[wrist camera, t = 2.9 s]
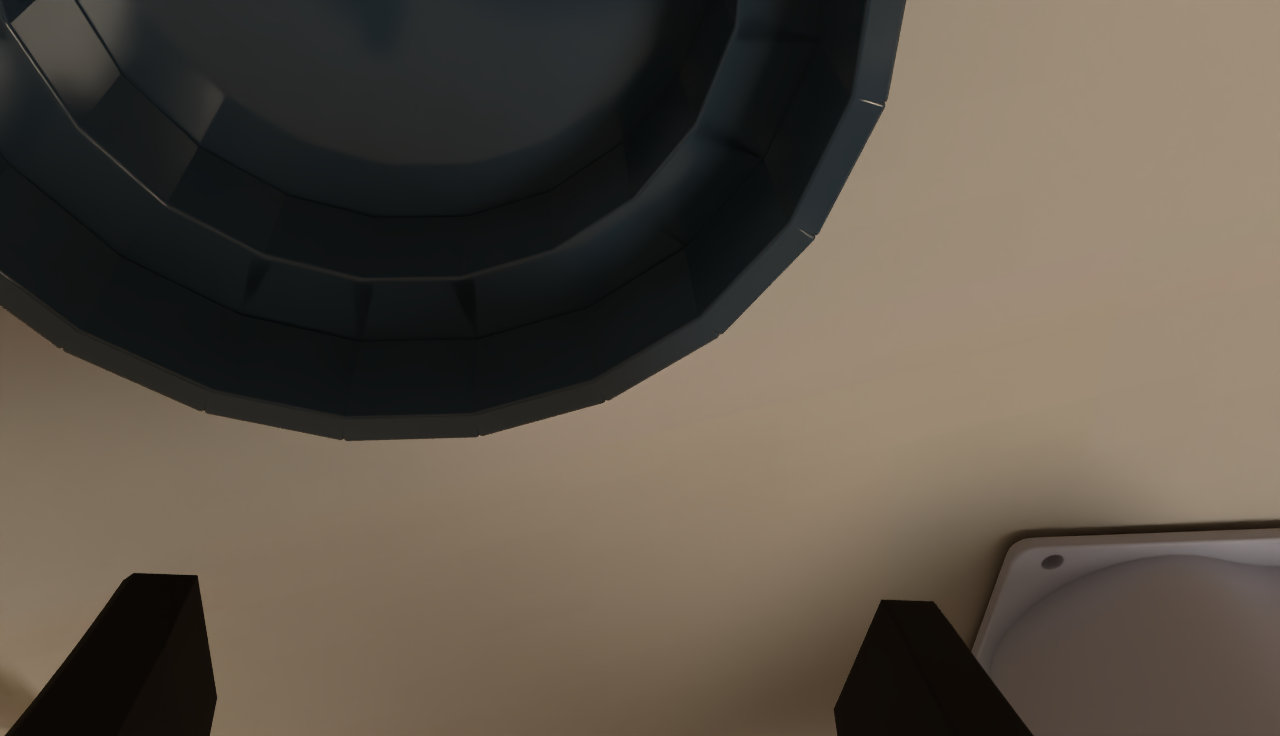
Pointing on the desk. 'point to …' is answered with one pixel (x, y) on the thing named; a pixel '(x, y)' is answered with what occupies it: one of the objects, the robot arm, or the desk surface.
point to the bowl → (417, 192)
